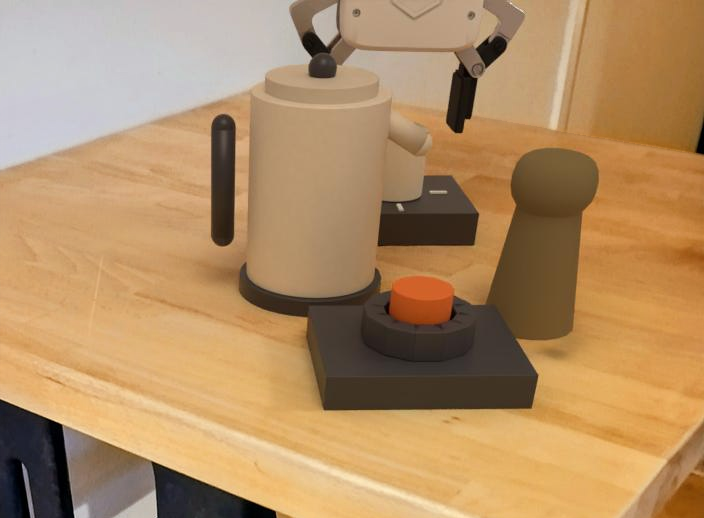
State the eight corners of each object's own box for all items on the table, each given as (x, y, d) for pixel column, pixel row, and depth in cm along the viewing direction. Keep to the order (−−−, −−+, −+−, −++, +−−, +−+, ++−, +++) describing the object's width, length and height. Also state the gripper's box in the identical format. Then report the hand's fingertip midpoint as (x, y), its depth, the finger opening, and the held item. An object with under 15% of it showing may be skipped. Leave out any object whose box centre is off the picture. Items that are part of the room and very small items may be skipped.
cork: (500, 344, 66) (532, 168, 59) (468, 307, 70) (494, 140, 64) (588, 338, 66) (630, 164, 60) (550, 302, 71) (585, 137, 65)
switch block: (489, 336, 67) (499, 277, 64) (531, 409, 58) (545, 345, 56) (306, 337, 66) (309, 278, 64) (323, 411, 58) (328, 346, 56)
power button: (443, 303, 62) (447, 275, 61) (456, 328, 59) (460, 299, 58) (384, 303, 62) (387, 275, 60) (394, 328, 59) (397, 299, 58)
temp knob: (415, 183, 85) (423, 116, 81) (426, 202, 81) (435, 131, 78) (358, 183, 84) (363, 116, 81) (366, 202, 81) (373, 131, 77)
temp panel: (447, 204, 88) (452, 173, 87) (474, 245, 80) (479, 211, 79) (309, 204, 88) (311, 173, 86) (322, 245, 80) (325, 211, 78)
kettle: (401, 263, 77) (427, 38, 68) (427, 317, 69) (461, 70, 60) (209, 264, 76) (209, 37, 67) (212, 319, 68) (213, 69, 59)
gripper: (303, -137, 66) (287, 139, 76) (565, -129, 67) (514, 143, 77) (293, -143, 72) (279, 113, 82) (534, -135, 73) (490, 117, 83)
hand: (393, 127), depth 80 cm, fingers open, 9 cm apart
